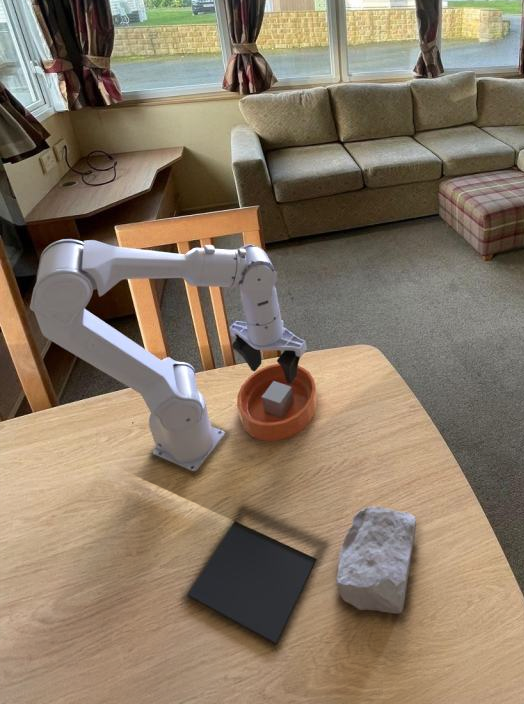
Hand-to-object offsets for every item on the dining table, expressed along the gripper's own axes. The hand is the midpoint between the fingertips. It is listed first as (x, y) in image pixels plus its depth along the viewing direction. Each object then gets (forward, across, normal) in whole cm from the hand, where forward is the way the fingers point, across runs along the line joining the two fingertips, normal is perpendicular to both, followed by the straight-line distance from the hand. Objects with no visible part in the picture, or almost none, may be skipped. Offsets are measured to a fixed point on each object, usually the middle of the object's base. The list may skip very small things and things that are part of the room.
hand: (274, 372), depth 87 cm
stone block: (+10, -27, +17) cm, 33 cm away
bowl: (+10, 0, 0) cm, 10 cm away
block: (+9, 0, 0) cm, 9 cm away
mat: (+9, -12, +24) cm, 28 cm away
